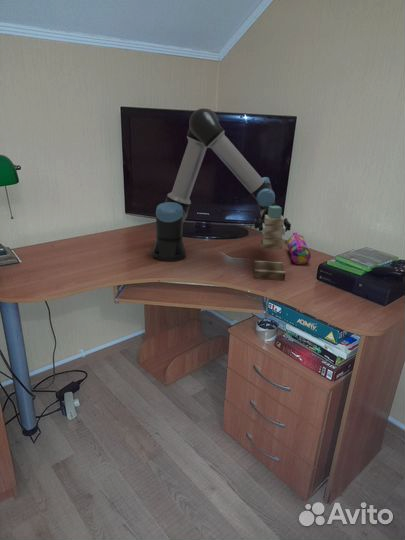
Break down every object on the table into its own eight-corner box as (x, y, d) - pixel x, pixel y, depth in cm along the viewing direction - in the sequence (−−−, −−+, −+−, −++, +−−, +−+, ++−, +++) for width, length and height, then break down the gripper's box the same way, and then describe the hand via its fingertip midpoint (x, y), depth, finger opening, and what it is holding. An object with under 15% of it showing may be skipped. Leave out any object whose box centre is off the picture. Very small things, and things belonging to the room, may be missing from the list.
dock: (254, 278, 155) (255, 270, 154) (253, 267, 166) (254, 260, 165) (284, 280, 154) (285, 272, 153) (281, 269, 165) (282, 262, 164)
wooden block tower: (261, 248, 153) (264, 218, 148) (260, 242, 159) (263, 214, 155) (282, 249, 152) (285, 219, 147) (280, 244, 158) (283, 215, 154)
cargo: (271, 218, 149) (272, 208, 147) (267, 215, 153) (268, 205, 151) (280, 218, 150) (281, 208, 148) (277, 215, 153) (278, 205, 152)
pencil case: (283, 249, 191) (285, 231, 187) (303, 250, 190) (305, 232, 187) (289, 265, 170) (292, 245, 167) (311, 266, 170) (314, 247, 166)
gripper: (291, 226, 170) (299, 242, 149) (246, 224, 171) (247, 239, 150) (293, 209, 167) (301, 223, 146) (247, 207, 169) (248, 220, 147)
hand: (274, 231), depth 148 cm, fingers closed on wooden block tower, 7 cm apart
